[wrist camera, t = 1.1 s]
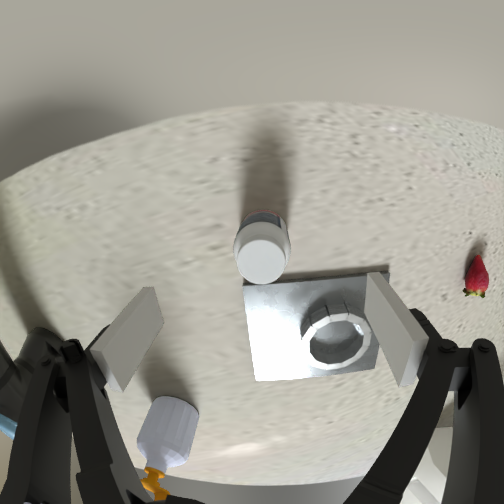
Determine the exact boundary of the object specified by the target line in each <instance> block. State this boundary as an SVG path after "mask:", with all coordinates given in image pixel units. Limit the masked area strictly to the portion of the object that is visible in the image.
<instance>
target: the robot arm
mask: <svg viewBox="0 0 504 504" xmlns="http://www.w3.org/2000/svg"><path fill="white" fill-rule="evenodd" d="M364 313H365V315H366V317H367V319H368V321H369V323H370V325H371V327H372V329H373V331H374V334H375V336H376V338H377V340H378V342H379V344H380V346H381V348H382V350H383V353H384V355H385V357H386V359H387V361H388V364H389V366H390V368H391V370H392V373H393V375H394V377H395V379H396V382H397V384H398V387H403V386H407V385H411V384H413V383H414V381H415V378H416V375H417V377H418V379H419V382H418V384H417V386H416V388H415V391H414V393H413V395H412V397H411V399H410V401H409V403H408V405H407V407H406V409H405V411H404V413H403V415H402V417H401V419H400V421H399V423H398V425H397V426H396V428H395V430H394V432H393V434H392V435H391V437H390V439H389V440H388V442H387V444H386V445H385V447H384V449H383V450H382V452H381V453H380V455H379V457H378V458H377V460H376V461H375V463H374V464H373V466H372V467H371V468H370V470H369V471H368V473H367V474H366V476H365V477H364V478H363V480H362V481H361V482H360V483H359V484H358V486H357V487H356V488H355V490H354V491H353V492H352V493H351V495H350V496H349V497H348V498H347V499H346V501H345V502H344V503H343V504H400V502H401V500H402V498H403V493H404V491H405V489H406V487H407V486H408V484H409V482H410V480H411V479H412V477H413V475H414V473H415V471H416V469H417V467H418V465H419V463H420V461H421V459H422V457H423V455H424V453H425V451H426V449H427V447H428V444H429V442H430V440H431V438H432V435H433V433H434V430H435V428H436V425H437V423H438V420H439V417H440V415H441V412H442V409H443V406H444V403H445V400H446V397H447V394H448V391H454V421H453V435H452V445H451V454H450V461H449V468H448V473H447V479H446V484H445V489H444V493H443V498H442V502H441V504H504V384H503V379H502V374H501V369H500V364H499V360H498V356H497V352H496V348H495V346H494V344H493V343H492V342H491V341H489V340H487V339H483V338H480V339H476V340H475V341H474V342H473V344H472V347H471V348H458V346H457V344H456V343H455V342H453V341H451V340H449V339H442V337H441V336H440V335H439V333H438V332H437V331H436V329H435V328H434V327H433V325H432V324H431V323H430V321H429V320H427V318H426V316H425V315H424V314H423V313H422V312H421V311H419V310H417V309H416V308H414V309H408V308H407V307H406V305H405V304H404V303H403V301H402V300H401V299H400V297H399V296H398V295H397V294H396V292H395V291H394V290H393V288H392V287H391V286H390V285H389V283H388V282H387V281H386V280H385V278H384V277H383V276H382V275H381V273H380V272H371V273H367V286H366V298H365V308H364ZM163 324H164V320H163V317H162V314H161V311H160V307H159V304H158V300H157V297H156V293H155V289H154V287H143V288H142V289H141V291H140V292H139V293H138V294H137V295H136V296H135V297H134V298H133V299H132V301H131V302H130V303H129V304H128V305H127V306H126V307H125V308H124V310H123V311H122V312H121V313H120V314H119V315H118V316H117V318H116V319H115V320H114V321H113V322H112V323H111V324H109V325H108V326H106V327H105V328H103V329H102V330H101V332H100V333H99V334H98V335H97V336H96V337H95V340H93V341H92V342H91V343H90V344H89V346H88V347H87V348H86V349H85V350H83V348H82V346H81V344H80V342H79V340H77V339H69V340H67V341H65V342H62V341H61V340H60V339H59V338H58V337H57V336H56V335H54V334H53V333H51V332H50V331H48V330H46V329H44V328H35V329H34V330H33V331H32V332H30V333H29V335H28V336H27V338H26V340H25V342H24V344H23V347H22V349H21V351H20V354H19V356H18V357H17V358H16V359H15V360H14V362H13V361H12V359H11V357H10V356H9V354H8V353H7V351H6V350H5V348H4V346H3V344H2V343H1V341H0V430H1V431H2V432H3V433H5V434H6V435H7V436H9V437H10V438H11V439H13V445H12V450H11V455H10V461H9V468H8V475H7V480H6V482H5V484H4V487H3V490H2V492H1V494H0V504H71V491H70V460H71V459H70V458H71V440H72V432H73V437H74V443H75V447H76V452H77V456H78V460H79V465H80V468H81V472H80V473H77V474H76V481H77V484H78V487H79V491H80V494H81V498H82V501H83V504H205V503H202V502H199V501H197V500H193V499H188V498H182V497H177V496H172V495H168V494H167V497H166V500H157V501H153V500H152V498H151V497H150V496H149V495H148V493H147V492H146V491H145V489H144V487H143V485H142V483H141V481H140V479H139V477H138V475H137V472H136V470H135V468H134V466H133V463H132V461H131V459H130V457H129V454H128V452H127V449H126V447H125V444H124V442H123V439H122V437H121V434H120V431H119V429H118V426H117V423H116V420H115V417H114V414H113V411H112V408H111V405H110V401H109V398H108V395H107V391H106V390H105V388H104V386H105V384H106V383H108V385H109V387H110V388H111V390H113V391H118V392H124V390H125V388H126V387H127V385H128V383H129V381H130V380H131V378H132V376H133V374H134V373H135V371H136V369H137V368H138V366H139V364H140V362H141V361H142V359H143V357H144V356H145V354H146V352H147V351H148V349H149V347H150V346H151V344H152V342H153V341H154V339H155V337H156V336H157V334H158V332H159V331H160V329H161V327H162V326H163Z"/></svg>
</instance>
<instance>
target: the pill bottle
mask: <svg viewBox="0 0 504 504" xmlns="http://www.w3.org/2000/svg"><path fill="white" fill-rule="evenodd" d="M233 253H234V257H235V260H236V262H237V267H238V270H239V272H240V274H241V275H242V276H243V277H244V278H245V279H246V280H248V281H250V282H252V283H255V284H268V283H271V282H273V281H275V280H276V279H278V278H279V277H280V276H281V274H282V273H283V271H284V268H285V266H286V264H287V263H288V261H289V258H290V254H291V245H290V241H289V236H288V231H287V227H286V224H285V222H284V221H283V219H282V218H281V217H280V216H279V215H278V214H276V213H275V212H273V211H270V210H257V211H254V212H252V213H250V214H249V215H248V216H246V218H245V219H244V220H243V222H242V224H241V226H240V228H239V231H238V233H237V235H236V238H235V241H234V245H233Z"/></svg>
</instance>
